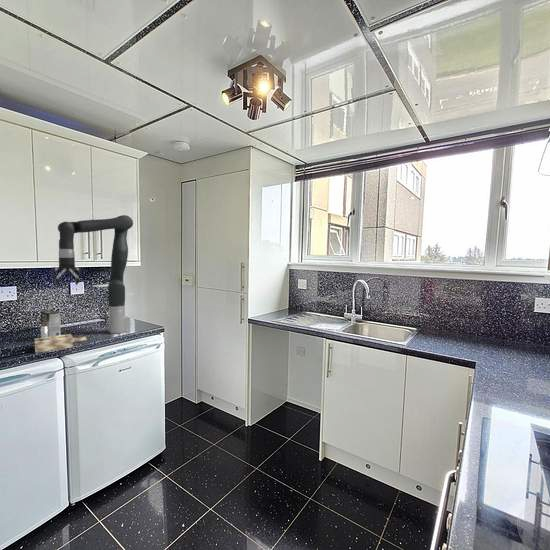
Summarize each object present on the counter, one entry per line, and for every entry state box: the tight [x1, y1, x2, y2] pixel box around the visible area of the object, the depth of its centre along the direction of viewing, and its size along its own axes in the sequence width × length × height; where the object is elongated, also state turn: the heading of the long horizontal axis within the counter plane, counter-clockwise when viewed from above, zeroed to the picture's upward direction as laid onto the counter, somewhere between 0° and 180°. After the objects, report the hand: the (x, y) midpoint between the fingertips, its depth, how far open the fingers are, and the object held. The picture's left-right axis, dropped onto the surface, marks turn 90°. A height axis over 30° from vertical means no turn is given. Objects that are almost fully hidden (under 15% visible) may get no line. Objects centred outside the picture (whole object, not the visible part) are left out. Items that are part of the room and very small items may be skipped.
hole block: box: [34, 333, 74, 354], centre depth 161 cm, size 16×10×5 cm, turn 130°
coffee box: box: [40, 309, 62, 337], centre depth 177 cm, size 9×6×16 cm
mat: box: [73, 336, 88, 343], centre depth 176 cm, size 8×7×1 cm
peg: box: [40, 325, 48, 341], centre depth 158 cm, size 3×3×12 cm
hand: (67, 284), depth 174 cm, fingers open, 8 cm apart
